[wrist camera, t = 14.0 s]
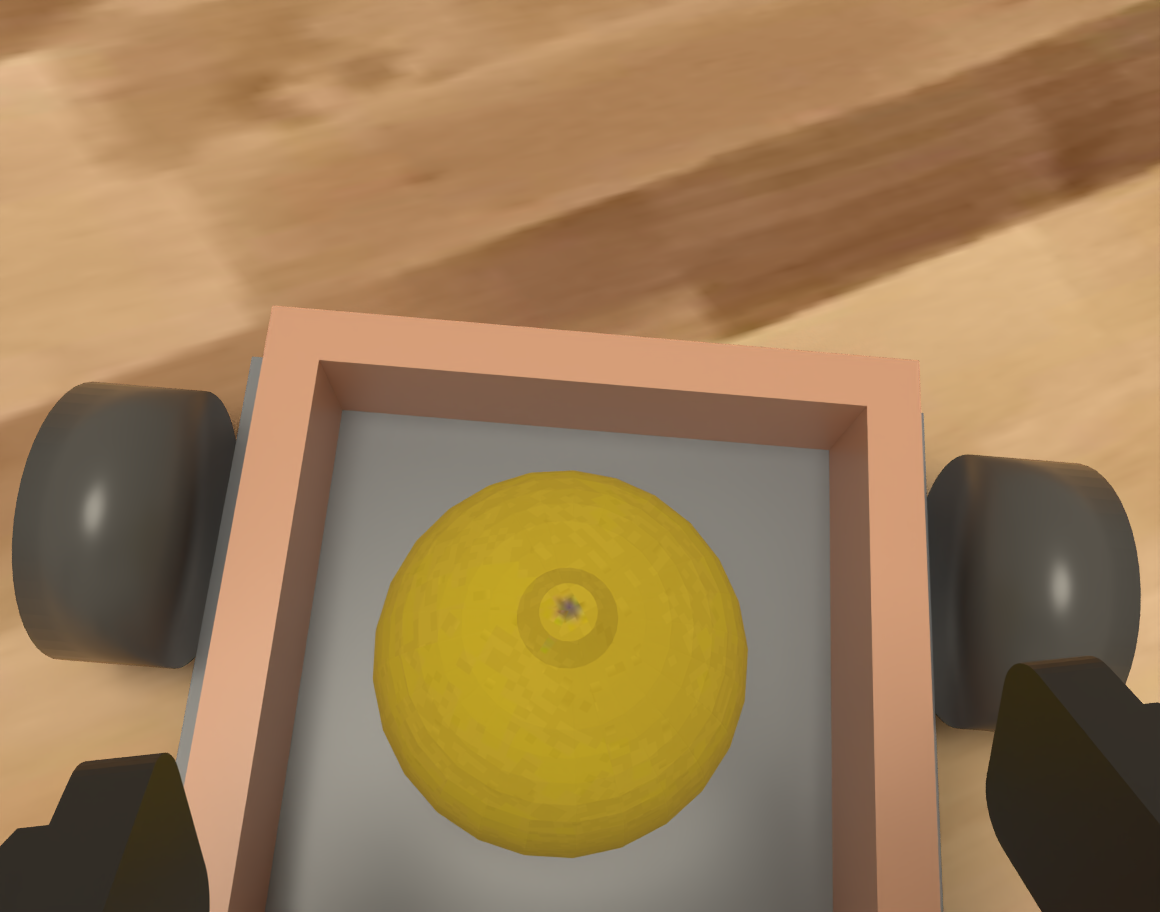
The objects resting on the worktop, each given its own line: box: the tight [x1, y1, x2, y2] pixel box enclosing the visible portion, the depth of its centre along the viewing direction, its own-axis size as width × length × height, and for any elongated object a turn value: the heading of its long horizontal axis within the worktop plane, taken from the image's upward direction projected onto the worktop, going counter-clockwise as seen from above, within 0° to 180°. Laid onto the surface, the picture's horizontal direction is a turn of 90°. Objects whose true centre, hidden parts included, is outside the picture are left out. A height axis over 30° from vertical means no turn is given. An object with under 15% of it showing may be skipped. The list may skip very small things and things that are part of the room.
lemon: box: [373, 470, 748, 858], centre depth 16 cm, size 6×6×8 cm
